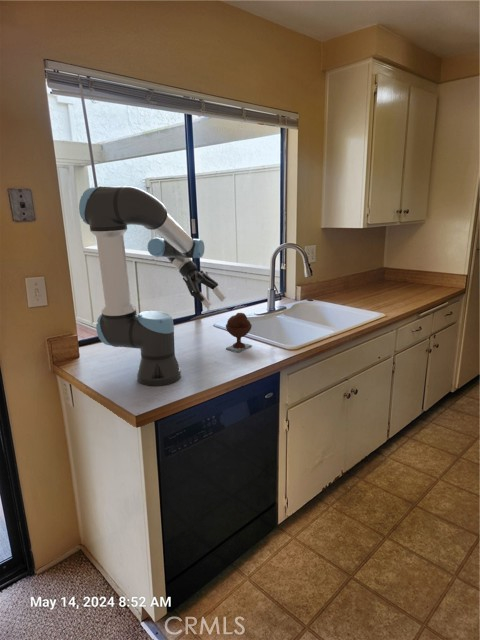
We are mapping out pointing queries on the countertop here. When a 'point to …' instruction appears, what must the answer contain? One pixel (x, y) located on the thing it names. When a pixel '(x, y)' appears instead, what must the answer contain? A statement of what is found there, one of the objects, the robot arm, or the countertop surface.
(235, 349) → the mat
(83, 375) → the countertop surface
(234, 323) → the ice cream bowl
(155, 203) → the robot arm
